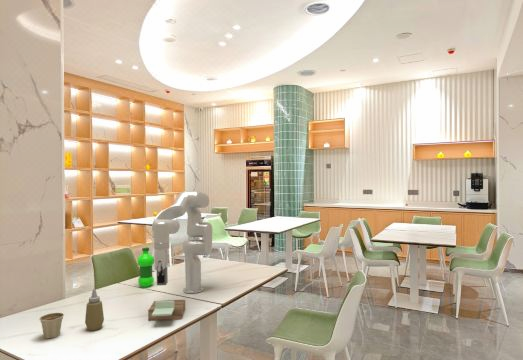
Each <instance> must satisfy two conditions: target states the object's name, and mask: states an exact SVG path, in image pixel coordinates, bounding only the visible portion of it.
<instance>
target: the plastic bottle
mask: <svg viewBox="0 0 523 360" xmlns="http://www.w3.org/2000/svg"><path fill="white" fill-rule="evenodd" d="M141 249H142V250H141V251H142V252H143V253H142V254H141V255H139V257H138V258H137V260H136V261H137V265H138V266H139V276H138V280H137V283H138V284H139V285H140V287H142V288H149V287H151V286H152V285H153V284H154V281H155V278H154V275H153V266H154V264H155V256H153V255H151V254H150V252H149V251H150V247H148V246H147V247H142V248H141Z"/></svg>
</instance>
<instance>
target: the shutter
mask: <svg viewBox="0 0 523 360" xmlns="http://www.w3.org/2000/svg"><path fill="white" fill-rule="evenodd" d="M157 301H158V302H155V310H154V312H153V313H152V316H168V315H172V313H173V311H174V301H164V300H157Z"/></svg>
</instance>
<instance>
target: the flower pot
mask: <svg viewBox="0 0 523 360" xmlns="http://www.w3.org/2000/svg"><path fill="white" fill-rule="evenodd" d="M64 316H65V313H63V312H52V313H45V314H44V315H41V316H40V317H39V321H40V323H41V328H42V334H43V338H44V339H51V338H52V339H54V338H57V337H59V336H60V335H61V330H62V323H63V322H62V321H63V319H64Z"/></svg>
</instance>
